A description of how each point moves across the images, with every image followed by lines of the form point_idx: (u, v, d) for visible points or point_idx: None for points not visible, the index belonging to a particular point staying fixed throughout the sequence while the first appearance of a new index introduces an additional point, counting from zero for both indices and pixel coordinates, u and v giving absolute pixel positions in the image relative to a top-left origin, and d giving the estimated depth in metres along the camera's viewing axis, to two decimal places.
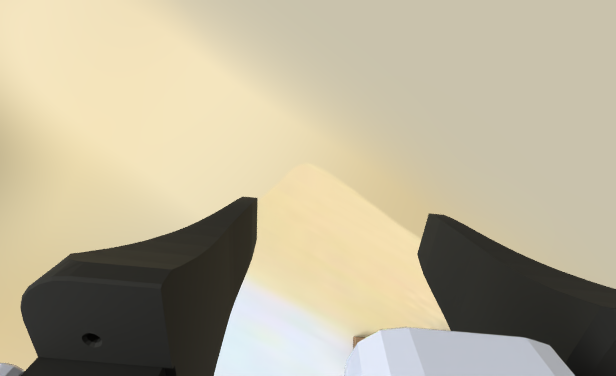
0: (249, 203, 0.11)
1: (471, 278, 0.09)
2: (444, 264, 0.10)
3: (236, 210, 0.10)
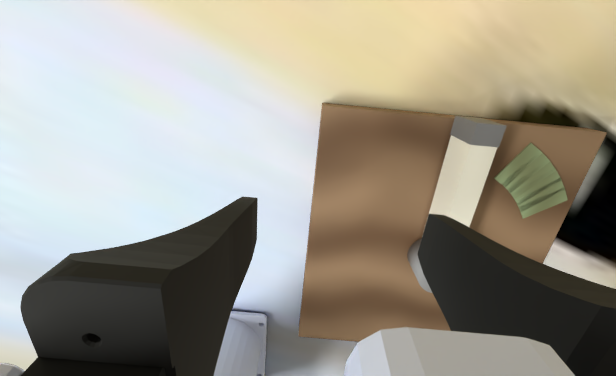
0: (249, 203, 0.11)
1: (471, 278, 0.09)
2: (444, 264, 0.10)
3: (236, 210, 0.10)
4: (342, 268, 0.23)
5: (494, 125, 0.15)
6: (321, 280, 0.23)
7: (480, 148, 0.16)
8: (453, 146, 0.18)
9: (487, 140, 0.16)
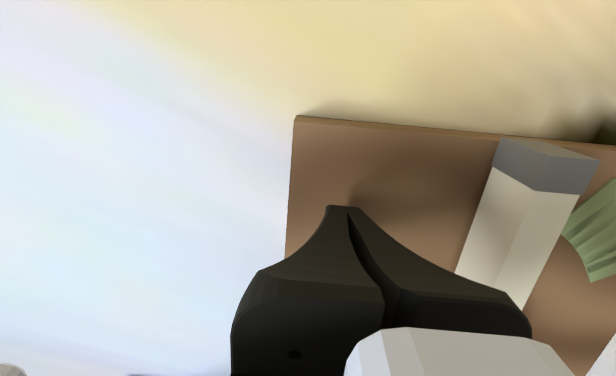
0: (344, 212, 0.11)
1: None
2: None
3: (340, 219, 0.10)
4: None
5: (579, 160, 0.09)
6: None
7: (550, 195, 0.10)
8: (497, 184, 0.11)
9: (564, 184, 0.09)
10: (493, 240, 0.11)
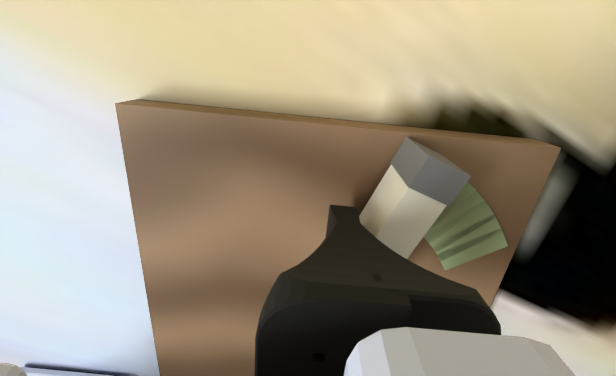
0: (356, 213, 0.11)
1: None
2: None
3: (352, 220, 0.10)
4: (202, 331, 0.16)
5: (453, 169, 0.09)
6: (178, 344, 0.17)
7: (421, 197, 0.10)
8: (388, 181, 0.11)
9: (435, 189, 0.10)
10: None
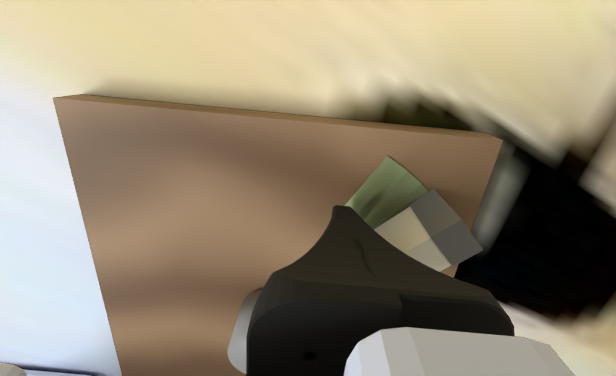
0: (352, 212, 0.11)
1: None
2: None
3: (348, 220, 0.10)
4: (160, 328, 0.16)
5: (473, 238, 0.10)
6: (137, 342, 0.17)
7: (435, 250, 0.10)
8: (403, 220, 0.12)
9: (450, 248, 0.10)
10: None
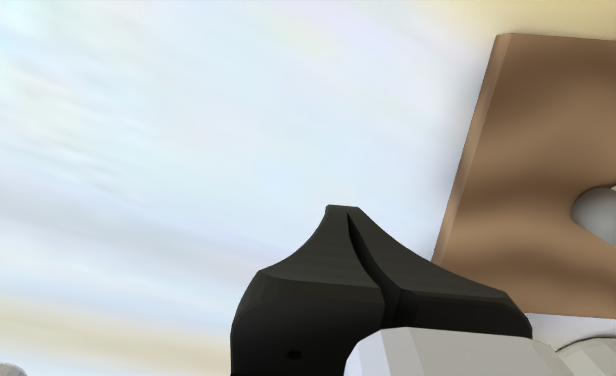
0: (344, 212, 0.11)
1: None
2: None
3: (340, 219, 0.10)
4: (493, 227, 0.21)
5: None
6: (467, 240, 0.21)
7: None
8: None
9: None
10: None
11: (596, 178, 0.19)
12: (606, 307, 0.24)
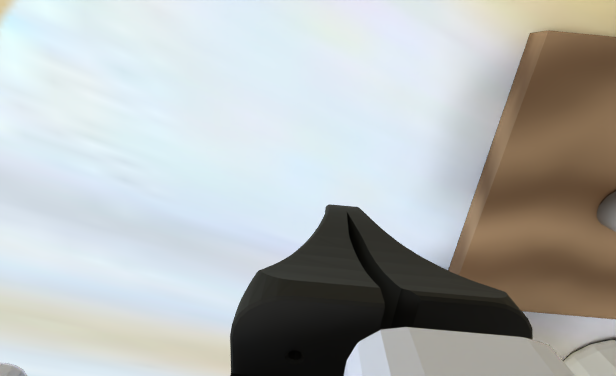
0: (344, 212, 0.11)
1: None
2: None
3: (340, 219, 0.10)
4: (517, 226, 0.21)
5: None
6: (491, 239, 0.21)
7: None
8: None
9: None
10: None
11: None
12: None
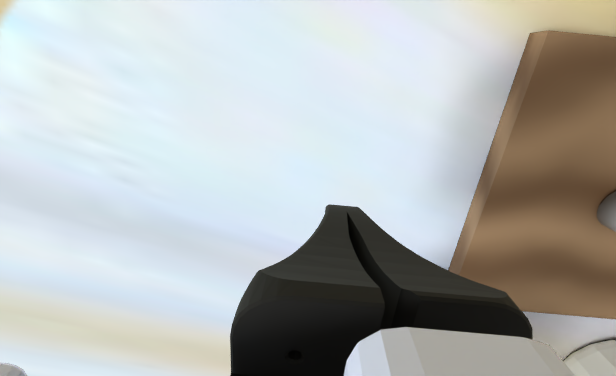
0: (344, 212, 0.11)
1: None
2: None
3: (340, 219, 0.10)
4: (517, 226, 0.21)
5: None
6: (491, 239, 0.21)
7: None
8: None
9: None
10: None
11: None
12: None
